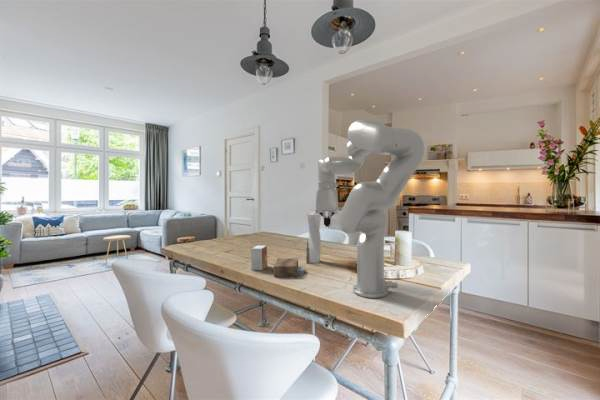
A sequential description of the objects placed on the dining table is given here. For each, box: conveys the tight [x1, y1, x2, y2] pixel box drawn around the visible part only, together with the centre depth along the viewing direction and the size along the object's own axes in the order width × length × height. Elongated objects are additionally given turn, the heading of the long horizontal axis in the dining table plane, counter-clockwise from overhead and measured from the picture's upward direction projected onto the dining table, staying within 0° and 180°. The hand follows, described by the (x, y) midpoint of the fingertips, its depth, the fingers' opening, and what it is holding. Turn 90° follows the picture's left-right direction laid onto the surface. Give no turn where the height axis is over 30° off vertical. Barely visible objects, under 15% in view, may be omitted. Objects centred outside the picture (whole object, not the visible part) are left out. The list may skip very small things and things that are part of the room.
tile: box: [297, 266, 305, 276], centre depth 124 cm, size 12×6×2 cm, turn 88°
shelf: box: [273, 258, 303, 278], centre depth 125 cm, size 12×14×5 cm
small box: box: [250, 244, 268, 271], centre depth 133 cm, size 8×6×10 cm
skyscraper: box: [305, 208, 322, 265], centre depth 143 cm, size 8×8×28 cm
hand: (327, 226), depth 124 cm, fingers closed
